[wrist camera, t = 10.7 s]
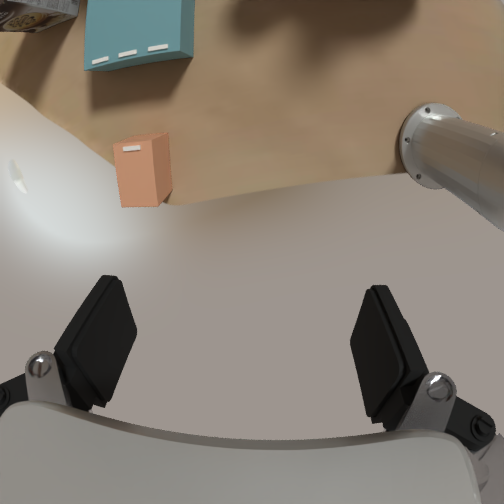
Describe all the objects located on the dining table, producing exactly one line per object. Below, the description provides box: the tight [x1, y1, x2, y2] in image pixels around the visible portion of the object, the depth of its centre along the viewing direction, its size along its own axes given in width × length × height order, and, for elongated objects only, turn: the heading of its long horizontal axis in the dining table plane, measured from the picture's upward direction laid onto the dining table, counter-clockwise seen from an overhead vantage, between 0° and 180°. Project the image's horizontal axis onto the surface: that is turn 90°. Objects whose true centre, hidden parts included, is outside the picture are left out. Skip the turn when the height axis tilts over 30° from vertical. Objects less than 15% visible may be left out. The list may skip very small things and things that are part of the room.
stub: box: [113, 133, 172, 207], centre depth 33 cm, size 5×8×6 cm, turn 179°
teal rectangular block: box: [84, 0, 195, 71], centre depth 22 cm, size 12×16×6 cm
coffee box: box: [0, 0, 80, 33], centre depth 15 cm, size 9×6×16 cm
